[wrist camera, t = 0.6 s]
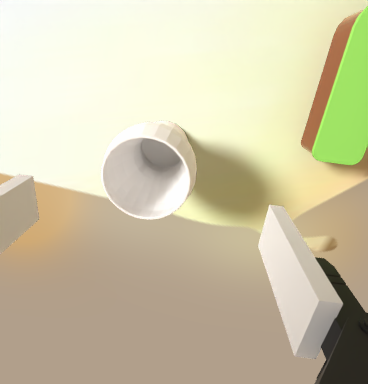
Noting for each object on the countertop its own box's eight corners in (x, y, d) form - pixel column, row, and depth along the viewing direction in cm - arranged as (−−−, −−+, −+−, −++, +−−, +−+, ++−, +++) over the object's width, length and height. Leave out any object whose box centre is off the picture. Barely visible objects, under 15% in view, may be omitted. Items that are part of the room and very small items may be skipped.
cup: (210, 132, 40) (215, 161, 26) (178, 188, 44) (167, 238, 30) (148, 97, 38) (118, 108, 25) (120, 158, 42) (81, 197, 29)
